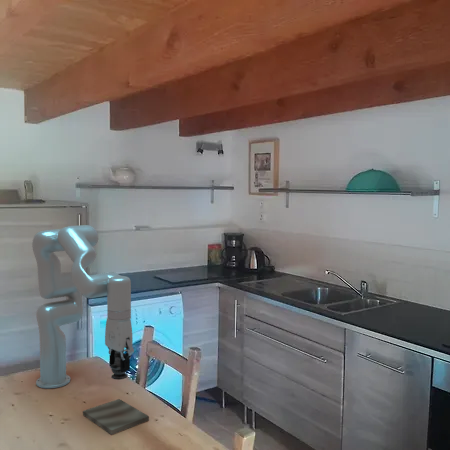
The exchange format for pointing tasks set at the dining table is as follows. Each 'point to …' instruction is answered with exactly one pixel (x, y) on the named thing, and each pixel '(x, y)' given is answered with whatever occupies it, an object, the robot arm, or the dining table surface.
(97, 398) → the dining table surface
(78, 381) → the dining table surface
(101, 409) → the serving board
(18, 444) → the dining table surface
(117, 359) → the dark grey chess piece
